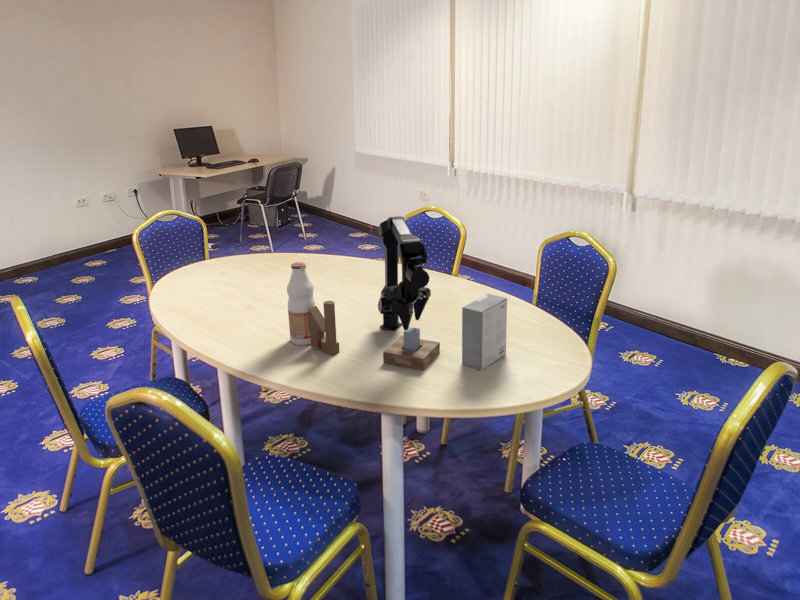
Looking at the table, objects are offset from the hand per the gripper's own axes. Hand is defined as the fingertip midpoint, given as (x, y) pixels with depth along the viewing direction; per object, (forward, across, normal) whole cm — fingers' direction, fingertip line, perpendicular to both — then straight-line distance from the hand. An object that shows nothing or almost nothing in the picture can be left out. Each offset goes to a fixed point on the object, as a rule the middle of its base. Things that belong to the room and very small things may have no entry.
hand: (411, 324), depth 202 cm
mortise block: (+12, 0, 0) cm, 12 cm away
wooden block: (+12, +5, -30) cm, 33 cm away
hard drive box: (+12, -8, +22) cm, 26 cm away
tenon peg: (+11, 0, 0) cm, 11 cm away
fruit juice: (+12, +1, -41) cm, 43 cm away
